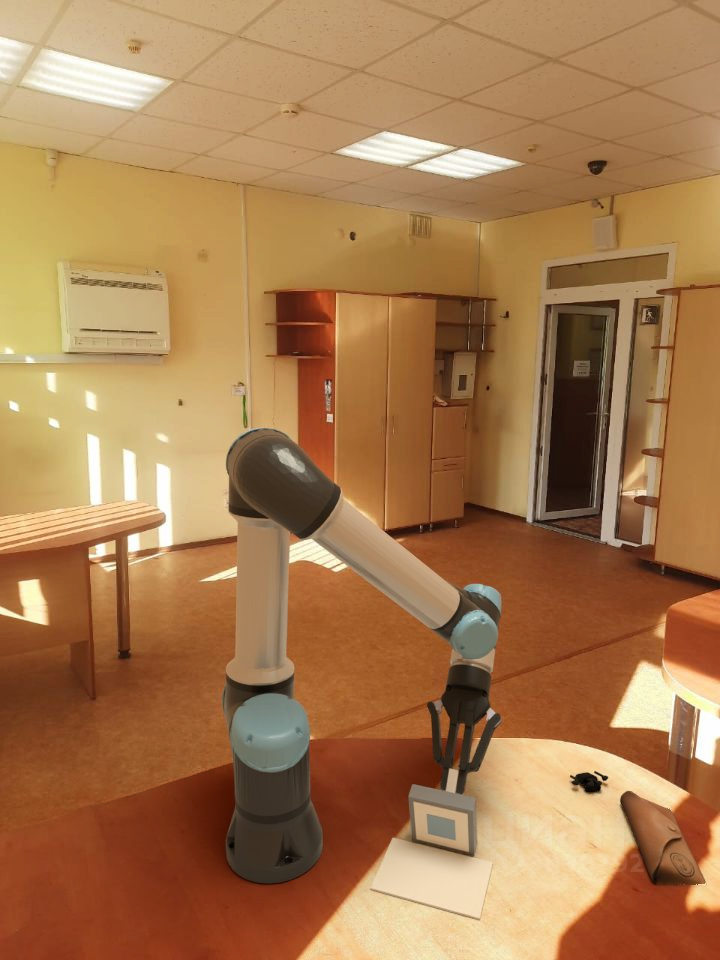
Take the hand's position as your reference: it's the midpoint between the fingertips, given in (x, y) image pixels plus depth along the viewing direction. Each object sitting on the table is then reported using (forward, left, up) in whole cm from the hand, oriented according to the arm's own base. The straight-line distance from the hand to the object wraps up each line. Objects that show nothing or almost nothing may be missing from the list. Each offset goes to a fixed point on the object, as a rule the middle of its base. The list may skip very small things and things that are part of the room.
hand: (448, 813), depth 109 cm
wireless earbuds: (+21, +21, -5) cm, 30 cm away
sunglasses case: (+32, +10, -5) cm, 34 cm away
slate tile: (0, -1, -4) cm, 4 cm away
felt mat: (0, -9, -4) cm, 10 cm away
